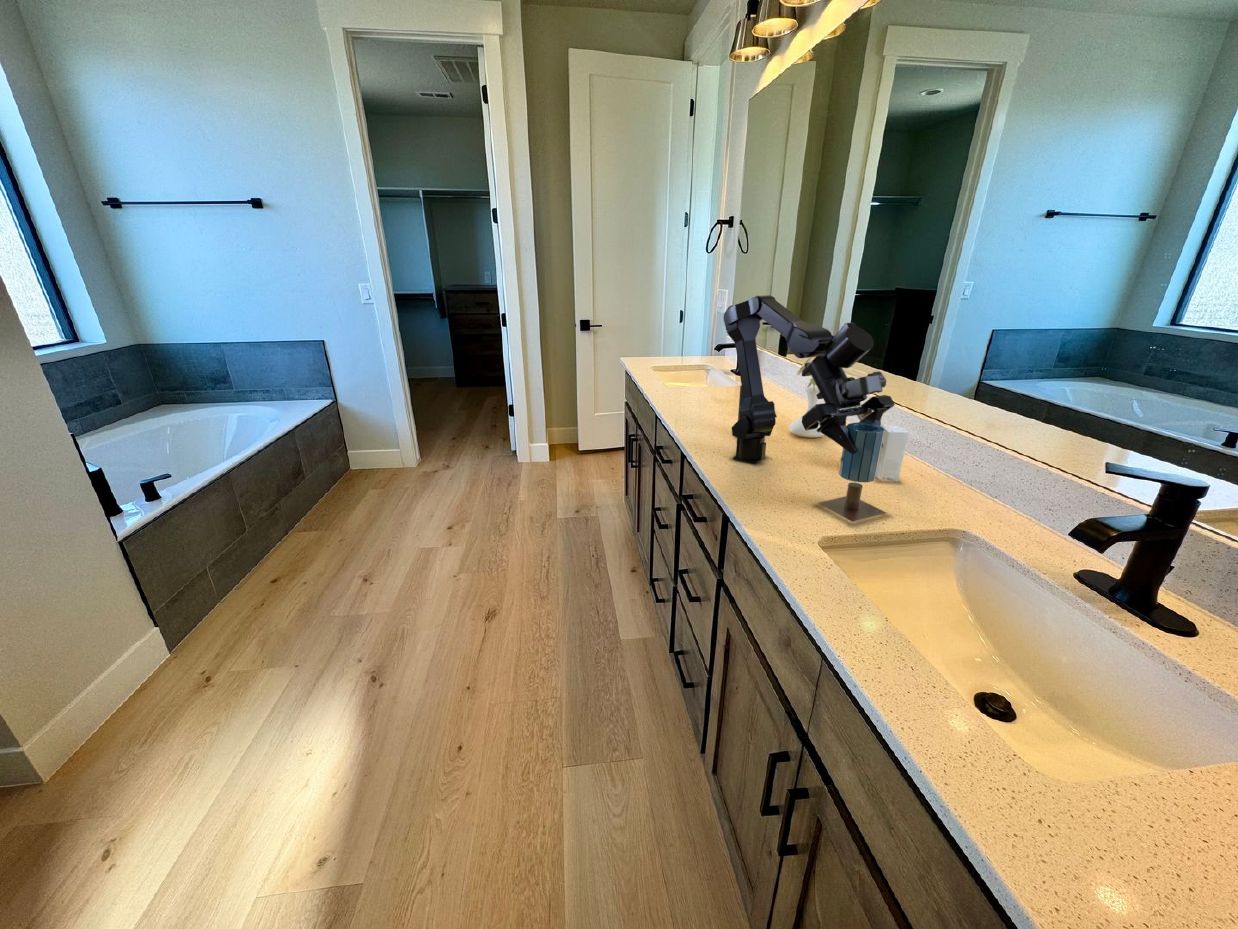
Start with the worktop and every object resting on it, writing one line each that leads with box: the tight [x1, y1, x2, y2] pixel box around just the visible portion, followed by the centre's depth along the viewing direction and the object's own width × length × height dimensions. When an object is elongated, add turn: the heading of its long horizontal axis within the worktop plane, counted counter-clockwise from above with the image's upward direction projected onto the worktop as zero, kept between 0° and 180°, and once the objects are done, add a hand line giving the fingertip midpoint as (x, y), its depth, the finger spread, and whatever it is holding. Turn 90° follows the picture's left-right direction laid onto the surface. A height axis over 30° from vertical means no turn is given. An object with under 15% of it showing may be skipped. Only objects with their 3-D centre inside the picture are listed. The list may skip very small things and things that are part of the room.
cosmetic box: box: [876, 424, 909, 483], centre depth 113 cm, size 6×4×12 cm
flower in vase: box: [788, 357, 826, 438], centre depth 141 cm, size 13×11×25 cm
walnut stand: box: [817, 482, 887, 523], centre depth 98 cm, size 9×9×6 cm
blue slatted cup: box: [838, 422, 885, 483], centre depth 95 cm, size 6×6×10 cm
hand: (867, 450), depth 93 cm, fingers closed on blue slatted cup, 6 cm apart
